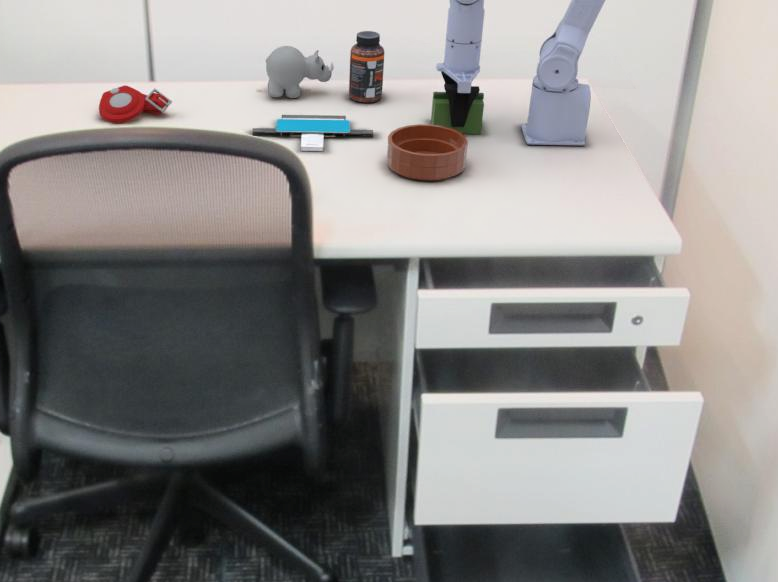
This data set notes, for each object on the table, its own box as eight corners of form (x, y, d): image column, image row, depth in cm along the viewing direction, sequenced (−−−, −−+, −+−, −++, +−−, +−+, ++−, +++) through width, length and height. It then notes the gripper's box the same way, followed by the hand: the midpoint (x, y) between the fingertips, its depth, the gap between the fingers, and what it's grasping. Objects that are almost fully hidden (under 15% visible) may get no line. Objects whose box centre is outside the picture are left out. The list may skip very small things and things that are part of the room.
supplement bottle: (379, 105, 196) (382, 40, 189) (346, 102, 197) (348, 38, 190) (384, 93, 201) (387, 30, 194) (351, 90, 202) (353, 27, 195)
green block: (478, 122, 190) (482, 88, 186) (481, 134, 186) (485, 99, 182) (430, 121, 190) (433, 87, 187) (432, 133, 186) (434, 98, 183)
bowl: (461, 151, 180) (463, 124, 177) (467, 183, 170) (470, 156, 168) (385, 150, 180) (386, 123, 178) (387, 182, 170) (389, 154, 168)
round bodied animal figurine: (334, 101, 197) (335, 53, 192) (266, 101, 197) (265, 53, 192) (331, 86, 203) (333, 40, 198) (265, 87, 203) (265, 40, 198)
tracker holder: (104, 121, 186) (88, 88, 192) (111, 142, 190) (95, 108, 195) (172, 96, 188) (154, 64, 194) (177, 117, 191) (159, 85, 197)
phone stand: (250, 150, 180) (249, 140, 179) (254, 121, 189) (254, 112, 188) (374, 152, 180) (374, 142, 179) (372, 123, 189) (372, 114, 188)
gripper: (435, 24, 185) (429, 103, 193) (442, 53, 173) (435, 136, 181) (478, 24, 185) (470, 104, 193) (487, 54, 173) (478, 137, 181)
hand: (456, 119), depth 187 cm, fingers closed on green block, 5 cm apart
